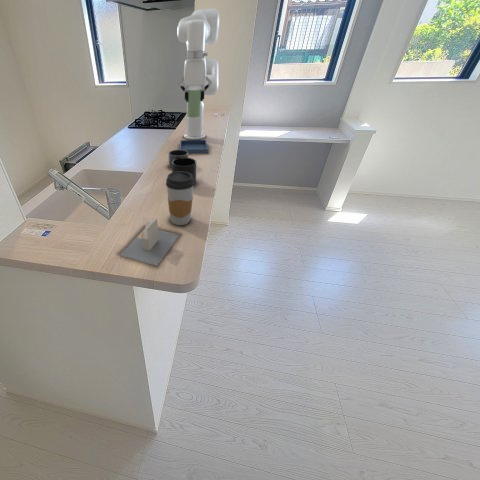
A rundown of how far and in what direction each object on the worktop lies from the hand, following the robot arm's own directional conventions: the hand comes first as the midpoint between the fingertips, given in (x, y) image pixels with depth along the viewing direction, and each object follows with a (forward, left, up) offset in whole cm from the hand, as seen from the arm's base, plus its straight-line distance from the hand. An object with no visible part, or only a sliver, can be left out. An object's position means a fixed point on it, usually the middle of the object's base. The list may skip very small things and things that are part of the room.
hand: (194, 100), depth 128 cm
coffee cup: (+71, -5, -23) cm, 74 cm away
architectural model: (+84, -13, -23) cm, 88 cm away
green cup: (0, 0, -7) cm, 7 cm away
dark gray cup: (+25, -7, -23) cm, 34 cm away
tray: (0, 0, -23) cm, 23 cm away
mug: (+42, -4, -23) cm, 48 cm away
